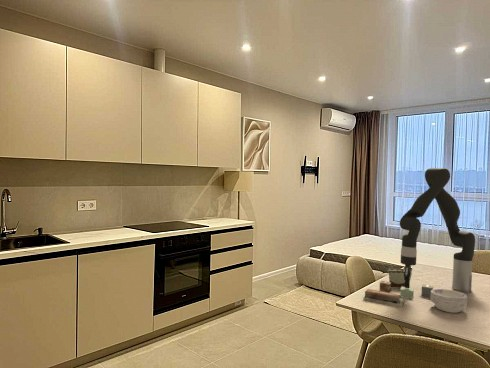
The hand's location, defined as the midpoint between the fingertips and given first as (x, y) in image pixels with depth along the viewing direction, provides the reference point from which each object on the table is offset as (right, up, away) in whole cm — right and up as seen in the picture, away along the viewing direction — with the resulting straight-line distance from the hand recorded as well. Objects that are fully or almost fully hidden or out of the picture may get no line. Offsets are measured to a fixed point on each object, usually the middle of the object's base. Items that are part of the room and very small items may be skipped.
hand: (407, 287), depth 188 cm
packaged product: (-16, -5, -9) cm, 19 cm away
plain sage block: (0, -5, 0) cm, 5 cm away
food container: (+2, -5, +17) cm, 18 cm away
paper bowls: (+11, -5, -18) cm, 22 cm away
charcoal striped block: (+12, -5, +2) cm, 13 cm away
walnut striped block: (-9, -4, +7) cm, 12 cm away
